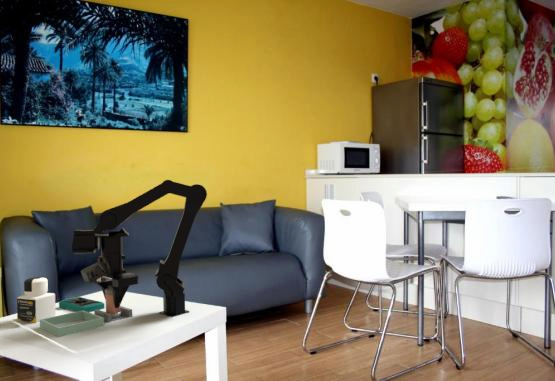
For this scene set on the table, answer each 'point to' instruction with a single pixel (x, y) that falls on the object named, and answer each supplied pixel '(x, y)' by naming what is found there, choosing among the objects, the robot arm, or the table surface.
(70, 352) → the table surface
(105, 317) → the grey cradle stand
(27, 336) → the table surface
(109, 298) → the fuse
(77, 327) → the tray
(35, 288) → the medicine bottle
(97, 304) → the digital multimeter
